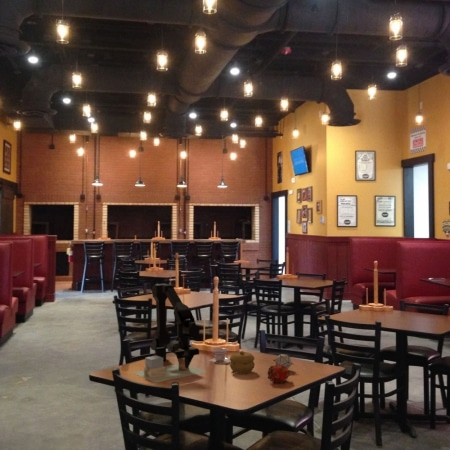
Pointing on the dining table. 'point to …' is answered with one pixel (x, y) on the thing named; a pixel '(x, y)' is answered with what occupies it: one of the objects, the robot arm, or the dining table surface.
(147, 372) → the tower base
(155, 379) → the felt mat
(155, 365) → the tower top
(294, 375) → the dining table surface
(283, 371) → the dragon fruit
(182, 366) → the terracotta cylinder
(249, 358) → the pot
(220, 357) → the teacup
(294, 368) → the dining table surface
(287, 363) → the game die
